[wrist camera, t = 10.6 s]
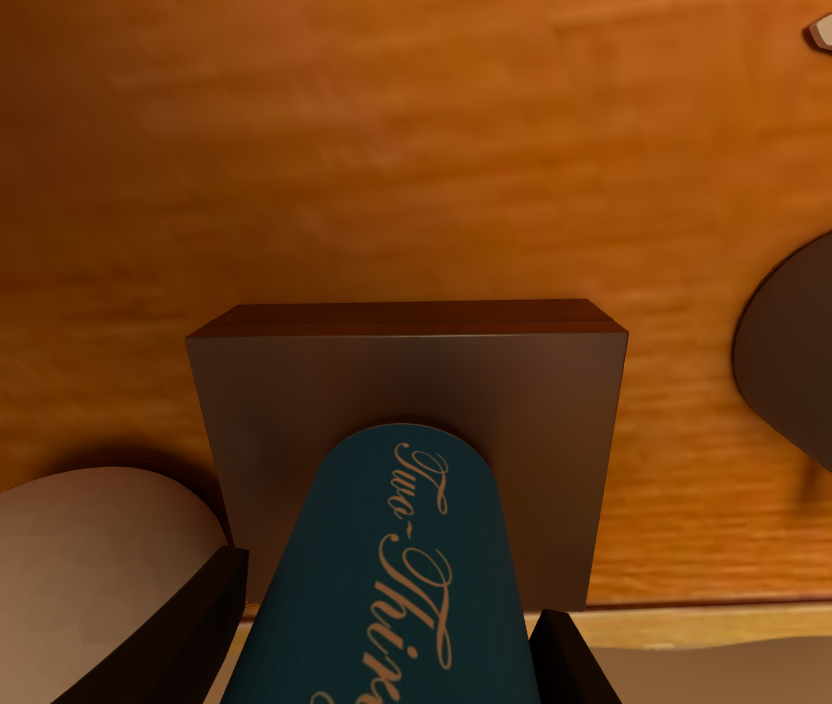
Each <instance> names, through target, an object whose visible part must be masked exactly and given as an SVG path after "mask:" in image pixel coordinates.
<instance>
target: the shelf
mask: <svg viewBox="0 0 832 704" xmlns="http://www.w3.org/2000/svg"><path fill="white" fill-rule="evenodd" d="M628 336H629V332H628V331H627V330H626V329H624V328H623V327H622V326H621V325H619V324H618V323H617V322H615V321H614V320H613V319H612V318H611V317H609V316H608V315H607V314H606V313H604V312H603V311H602V310H600V309H599V308H598V307H596V306H595V305H594V304H593V303H591V302H590V301H589V300H587V299H567V300H508V301H448V302H389V303H330V304H271V305H237V306H236V307H234V308H232V309H231V310H229V311H227V312H226V313H224V314H222V315H221V316H219V317H217V318H216V319H214V320H212V321H211V322H209V323H207V324H206V325H204V327H201V328H200V329H198V330H196V331H195V332H193V333H191V334H190V335H188V336H186V337H185V342H186V347H187V351H188V355H189V359H190V363H191V367H192V372H193V376H194V380H195V384H196V388H197V392H198V396H199V401H200V405H201V409H202V413H203V417H204V421H205V425H206V430H207V434H208V438H209V442H210V446H211V450H212V455H213V459H214V463H215V467H216V471H217V475H218V479H219V484H220V488H221V492H222V496H223V500H224V504H225V508H226V513H227V517H228V521H229V525H230V529H231V533H232V538H233V542H234V546H235V547H237V548H242V549H247V550H250V553H249V564H248V575H247V586H246V596H247V600H248V603H249V604H262V601H263V599H264V597H265V594H266V592H267V589H268V587H269V585H270V582H271V580H272V577H273V575H274V573H275V570H276V568H277V566H278V563H279V561H280V558H281V556H282V554H283V551H284V549H285V547H286V544H287V542H288V539H289V537H290V535H291V532H292V530H293V527H294V525H295V523H296V520H297V518H298V516H299V513H300V511H301V508H302V506H303V504H304V501H305V499H306V497H307V494H308V492H309V489H310V487H311V485H312V482H313V480H314V477H315V475H316V473H317V471H318V469H319V467H320V465H321V463H322V462H323V460H324V459H325V457H326V456H327V455H328V454H329V453H330V452H331V451H332V450H333V449H334V448H335V447H336V446H337V445H338V444H339V443H341V442H342V441H343V440H345V439H346V438H348V437H350V436H352V435H353V434H355V433H358V432H360V431H362V430H365V429H368V428H371V427H375V426H379V425H386V424H396V423H408V424H419V425H424V426H429V427H433V428H436V429H439V430H442V431H444V432H447V433H449V434H451V435H453V436H455V437H457V438H459V439H460V440H462V441H463V442H465V443H466V444H468V445H469V446H470V447H471V448H473V449H474V450H475V451H476V452H477V453H478V454H479V455H480V456H481V457H482V458H483V459H484V461H485V462H486V464H487V465H488V467H489V468H490V469H491V471H492V473H493V475H494V477H495V480H496V483H497V486H498V489H499V494H500V499H501V504H502V509H503V514H504V519H505V524H506V529H507V534H508V539H509V544H510V549H511V554H512V559H513V564H514V569H515V574H516V579H517V584H518V589H519V594H520V600H521V605H522V610H535V611H543V609H544V608H545V609H550V610H555V611H577V612H583V611H585V606H586V599H587V593H588V587H589V581H590V574H591V568H592V562H593V556H594V549H595V543H596V537H597V531H598V524H599V518H600V512H601V505H602V499H603V493H604V487H605V480H606V474H607V468H608V462H609V455H610V449H611V443H612V436H613V430H614V424H615V418H616V411H617V405H618V399H619V393H620V386H621V380H622V374H623V368H624V361H625V355H626V349H627V342H628Z"/></svg>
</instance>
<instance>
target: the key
mask: <svg viewBox="0 0 832 704" xmlns="http://www.w3.org/2000/svg"><path fill="white" fill-rule="evenodd" d="M809 29H810V32H811V34H812V36H813V38H814V40H815V42H816V44H817V45H818V46H819V47H820V48H824V49H828V50H832V13H830V14H829V15H827V16H826V17H824V18H822V19H821V20H819V21H817V22H816V23H814V24H812V25H811V26H809Z"/></svg>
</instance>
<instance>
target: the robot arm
mask: <svg viewBox="0 0 832 704" xmlns="http://www.w3.org/2000/svg"><path fill="white" fill-rule="evenodd" d="M249 553H250V550H247V549H242V548H237V547H232V546H227V545H224V546H222V547H220V548H219V549H218V550H217V551H216V552H215V553H214V554H213V555H212V556H211V557H210V559H209V560H208V561H207V562H206V563H205V564H204V565H203V566H202V567H201V568H200V569H199V570H198V571H197V572H196V573H195V574H194V575H193V576H192V577H191V578H190V579H189V580H188V581H187V582H186V583H185V584H184V585H183V586H182V587H181V588H180V589H179V590H178V591H177V592H176V593H175V594H174V595H173V596H172V597H171V598H170V599H169V600H168V601H167V602H166V603H165V604H164V605H163V606H162V607H161V608H160V609H159V610H157V611H156V612H155V613H154V614H153V615H152V616H151V617H150V618H149V619H148V620H147V621H146V622H145V623H144V624H143V625H142V626H141V627H139V628H138V629H137V630H136V631H135V632H134V633H133V634H132V635H131V636H130V637H128V638H127V639H126V640H125V641H124V642H123V643H122V644H120V645H119V646H118V647H117V648H116V649H115V650H113V651H112V652H111V653H110V654H109V655H108V656H107V657H105V658H104V659H103V660H102V661H101V662H100V663H99V664H97V665H96V666H95V667H94V668H93V669H92V670H91V671H89V672H88V673H87V674H86V675H85V676H83V677H82V678H81V679H80V680H79V681H77V682H76V683H75V684H74V685H72V686H71V687H70V688H69V689H68V690H66V691H65V692H64V693H63V694H61V695H60V696H59V697H58V698H56V699H55V700H54V701H53V702H51V703H50V704H203V702H204V700H205V698H206V696H207V694H208V692H209V690H210V688H211V686H212V684H213V682H214V680H215V678H216V676H217V674H218V672H219V670H220V668H221V666H222V664H223V662H224V660H225V657H226V655H227V653H228V650H229V648H230V645H231V643H232V640H233V638H234V635H235V633H236V630H237V627H238V625H239V622H240V620H241V617H242V615H243V612H244V609H245V597H246V586H247V575H248V564H249ZM529 645H530V650H531V655H532V660H533V665H534V670H535V675H536V680H537V685H538V690H539V695H540V700H541V704H622V703H621V701H620V699H619V698H618V696H617V694H616V693H615V691H614V689H613V688H612V686H611V685H610V683H609V681H608V680H607V678H606V676H605V675H604V673H603V671H602V670H601V668H600V666H599V665H598V663H597V661H596V660H595V658H594V656H593V654H592V653H591V651H590V649H589V648H588V646H587V644H586V642H585V641H584V639H583V637H582V636H581V634H580V632H579V631H578V629H577V627H576V626H575V624H574V622H573V621H572V619H571V617H570V616H569V614H568V613H565V612H560V611H555V610H550V609H545V608H544V609H543V611H542V613H541V615H540V617H539V619H538V622H537V624H536V626H535V628H534V630H533V632H532V635H531V637H530V639H529Z"/></svg>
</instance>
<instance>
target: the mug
mask: <svg viewBox="0 0 832 704" xmlns="http://www.w3.org/2000/svg"><path fill="white" fill-rule="evenodd" d="M734 369H735V374H736V378H737V381H738V384H739V387H740V389H741V391H742V393H743V395H744V397H745V399H746V400H747V402H748V403H749V405H750V406H751V407H752V408H753V409H754V410H755V411H756V412H757V413H758V414H759V415H760V416H761V417H762V418H763V419H764V420H765V421H766V422H767V423H768V424H770V425H771V426H772V427H773V428H774V429H776V430H777V431H778V432H779V433H781V434H782V435H783V436H784V437H785V438H787V439H788V440H789V441H790V442H792V443H793V444H794V445H796V446H797V447H798V448H799V449H801V450H802V451H803V452H805V453H806V454H807V455H809V456H810V457H811V458H813V459H814V460H815V461H817V462H818V463H819V464H821V465H822V466H823V467H824V468H826V469H827V470H828V471H830V472H831V473H832V233H830V234H828V235H826V236H824V237H822V238H820V239H818V240H817V241H815V242H813V243H811V244H810V245H808V246H807V247H805V248H804V249H802V250H801V251H799V252H798V253H797V254H795V255H794V256H793V257H791V258H790V259H789V260H788V261H786V262H785V263H784V264H783V265H782V266H781V267H780V268H779V269H778V270H777V271H776V272H775V273H774V274H773V275H772V276H771V277H770V278H769V279H768V280H767V281H766V283H765V284H764V285H763V286H762V287H761V289H760V290H759V291H758V293H757V294H756V296H755V297H754V298H753V300H752V302H751V303H750V305H749V307H748V309H747V311H746V313H745V315H744V317H743V319H742V322H741V324H740V327H739V330H738V333H737V337H736V342H735V348H734Z"/></svg>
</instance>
